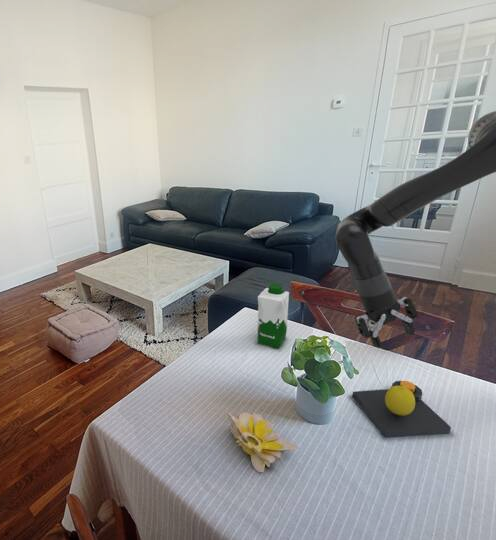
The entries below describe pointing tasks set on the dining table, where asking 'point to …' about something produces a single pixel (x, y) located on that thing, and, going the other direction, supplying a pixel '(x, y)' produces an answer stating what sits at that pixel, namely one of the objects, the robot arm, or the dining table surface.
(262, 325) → the milk carton
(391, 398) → the lemon
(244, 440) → the decorative flower
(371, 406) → the scale
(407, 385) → the tare button
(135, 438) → the dining table surface
